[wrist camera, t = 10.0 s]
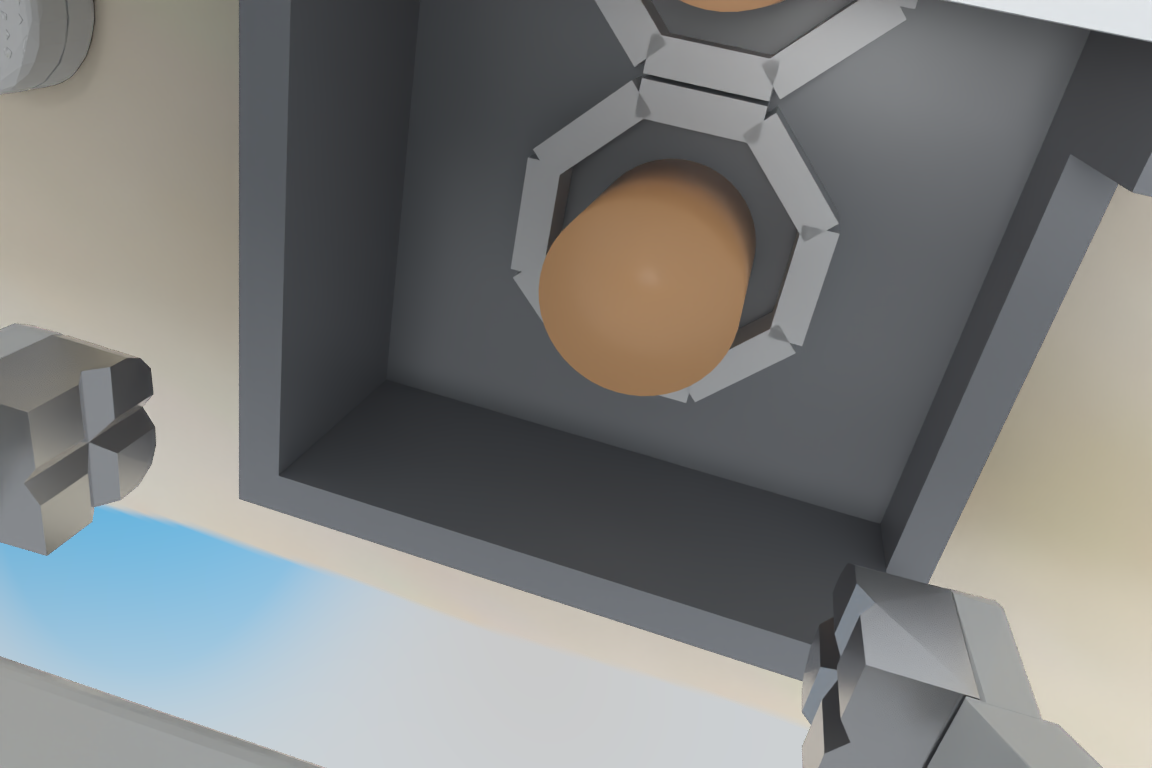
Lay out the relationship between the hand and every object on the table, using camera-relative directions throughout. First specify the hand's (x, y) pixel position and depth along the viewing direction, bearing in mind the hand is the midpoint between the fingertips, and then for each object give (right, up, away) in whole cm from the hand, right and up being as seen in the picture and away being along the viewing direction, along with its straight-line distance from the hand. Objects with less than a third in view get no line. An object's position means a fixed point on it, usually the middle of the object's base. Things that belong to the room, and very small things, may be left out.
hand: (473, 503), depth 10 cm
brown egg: (+3, +5, +11) cm, 12 cm away
